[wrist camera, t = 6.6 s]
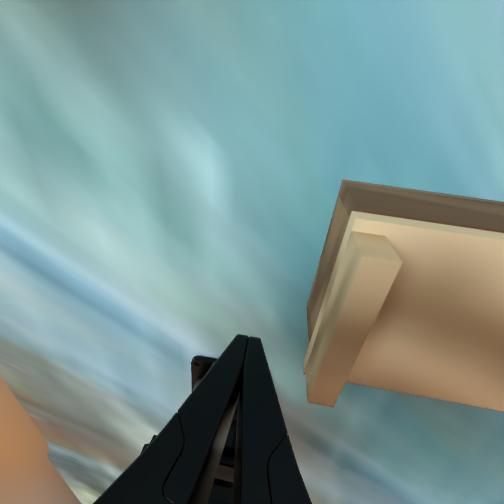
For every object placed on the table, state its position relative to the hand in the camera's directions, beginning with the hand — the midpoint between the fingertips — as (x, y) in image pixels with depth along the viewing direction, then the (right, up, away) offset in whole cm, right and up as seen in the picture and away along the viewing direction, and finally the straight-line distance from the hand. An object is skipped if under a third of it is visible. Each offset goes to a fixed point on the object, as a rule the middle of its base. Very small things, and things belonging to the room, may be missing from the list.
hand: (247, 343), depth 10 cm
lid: (+9, 0, +2) cm, 9 cm away
